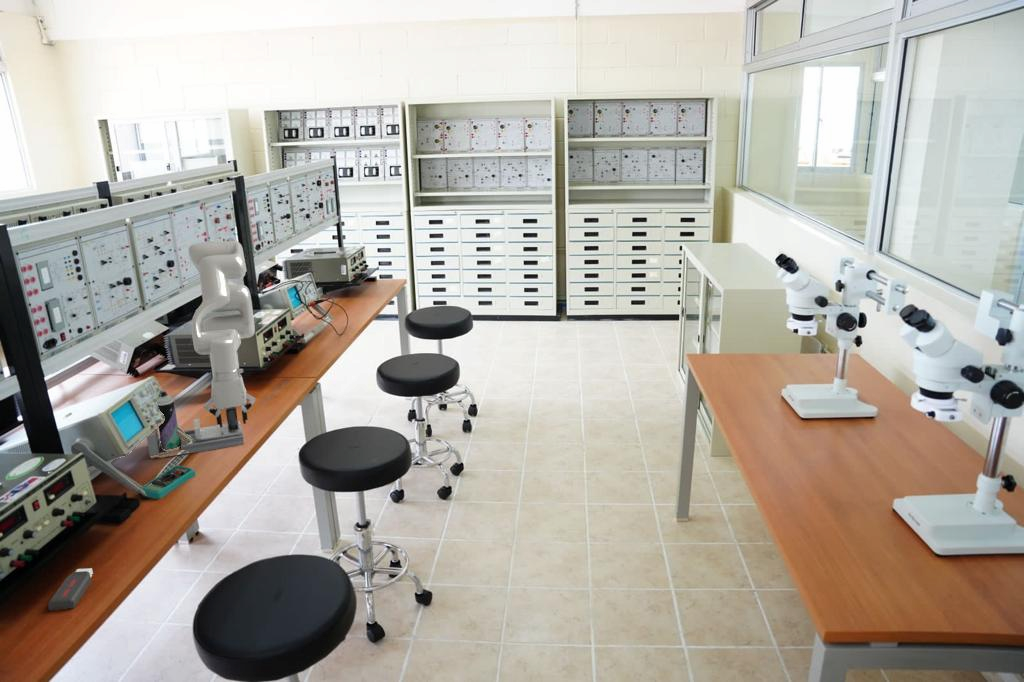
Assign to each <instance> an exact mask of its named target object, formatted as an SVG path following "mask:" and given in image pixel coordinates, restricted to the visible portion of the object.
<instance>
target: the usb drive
mask: <svg viewBox="0 0 1024 682" xmlns="http://www.w3.org/2000/svg"><path fill="white" fill-rule="evenodd" d="M92 574H93V575H94V571H93V568H92V567H90V568H77V569H76V570H75V571H73V572H72V573H70V574H69V575H68V576H67V577H66V578H65V579H64V580H63V581H62V584H61V585H60V586H59V587H58V589H57V590H56V592H55V593H54V595H53V596H52V597H51V599H50V600H49V602H48V605H47V606H48V611H49V610H51V611H60V610H59V609H64V610H69V609H68V608H74V607H75V605H76V604H77V603H78V604H79V602H80V601H79V599H80V598H81V597H82V598H83V596H84V595H85V593H86V592H85V590H86V589H87V588H88V589H89V587H90V586H91V584H92V577H93V575H92ZM90 583H91V584H90ZM89 585H90V586H89ZM88 586H89V587H88ZM88 589H87V590H88ZM87 590H86V591H87ZM84 592H85V593H84ZM83 594H84V595H83ZM82 595H83V596H82ZM82 598H81V599H82ZM81 599H80V600H81ZM78 601H79V602H78ZM78 604H77V605H78ZM77 605H76V606H77ZM75 608H76V607H75ZM75 608H74V609H75Z"/></svg>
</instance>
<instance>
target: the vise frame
mask: <svg viewBox="0 0 1024 682" xmlns="http://www.w3.org/2000/svg"><path fill="white" fill-rule="evenodd" d="M183 431H184V432H185V433H186V434H188V435H190V436H191V437H192V438H193V439H194V440H195V442H194V444H188V445H187V443H186V442H185V441H183V440H180V443H181V448H180V449H179V450H174V451H168V452H164V451H162V452H160V453H159V445H160V446H161V443H160V441H161V439H160V433H159V427H157V429H155V430H154V431H153V432H152V433H151V434H150V435H149V436H148V437H147V436H146V442H147V446H148V453H149V458H150V457H151V456H154V455H159V456H162V455H167V454H171V453H175V452H178V451H181V450H187V451H188V452H189V453H190V454H193V453H201V452H206V451H211V450H216V449H219V450H220V449H223V448H229V447H235V446H241V445H240V444H242V445H244V444H245V441H244V435H242V436H236V437H230V438H224V439H218V440H212V441H206V442H200V443H196V437H195V430H194V428H193V429H188V430H187V429H186V430H183Z"/></svg>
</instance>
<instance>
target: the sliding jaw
mask: <svg viewBox="0 0 1024 682" xmlns="http://www.w3.org/2000/svg"><path fill="white" fill-rule="evenodd" d="M225 415H226V416H225V417H226V420H227V421H226V423H222V428H220V424H219V425H211V426H210V425H209V426H205V427H204V426H203V427H201V425H200V418H193V426H194V427H193V429H194V430H195V437H196V443H200V442H206V441H212V440H218V439H224V438H230V437H236V436H242V435H243V428H242V423H241V421H239V420H238V413H237V407H231V408H225ZM243 436H244V435H243Z"/></svg>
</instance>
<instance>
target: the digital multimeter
mask: <svg viewBox="0 0 1024 682" xmlns="http://www.w3.org/2000/svg"><path fill="white" fill-rule="evenodd" d="M195 476H196V471H195V469H193V468H190V467H187V466H185V465H174V466H172V467H171V468H170V469H168V470H167V471H165V472H164V473H161V475H159V476H156V478H153V479H152V480H150V481H149V482H147V483H145V484H144V485H142V486H141V487H140V488H143V490H144V491H145V493H146V494H147V497H146V498H150V499H156V500H161V499H163V498H164V497H165V496H167V495H168V494H169V493H171V492H172V491H174V490H176V489H177V488H178V487H180V486H181V485H183V484H185V483H187V482H188V481H189V480H191V479H192V478H194V477H195ZM151 483H152V484H153V486H151V487H149V485H150V484H151Z"/></svg>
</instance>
